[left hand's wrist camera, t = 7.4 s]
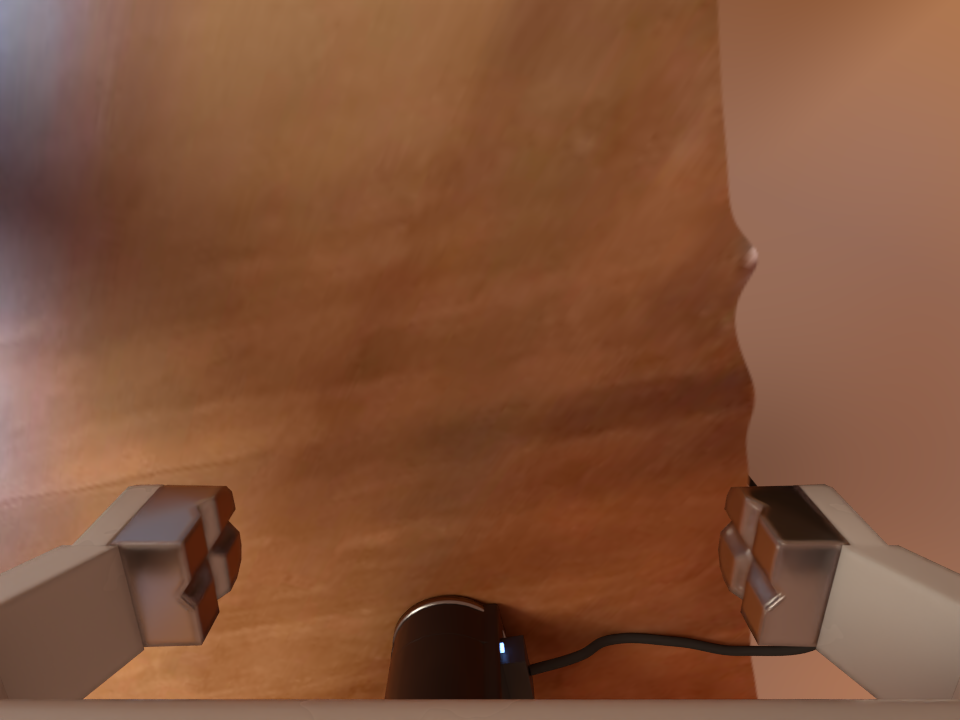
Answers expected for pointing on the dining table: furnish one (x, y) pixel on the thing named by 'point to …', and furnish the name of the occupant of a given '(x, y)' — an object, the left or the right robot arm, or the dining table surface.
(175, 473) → the dining table surface
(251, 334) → the dining table surface
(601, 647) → the right robot arm
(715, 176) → the dining table surface
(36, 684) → the left robot arm
